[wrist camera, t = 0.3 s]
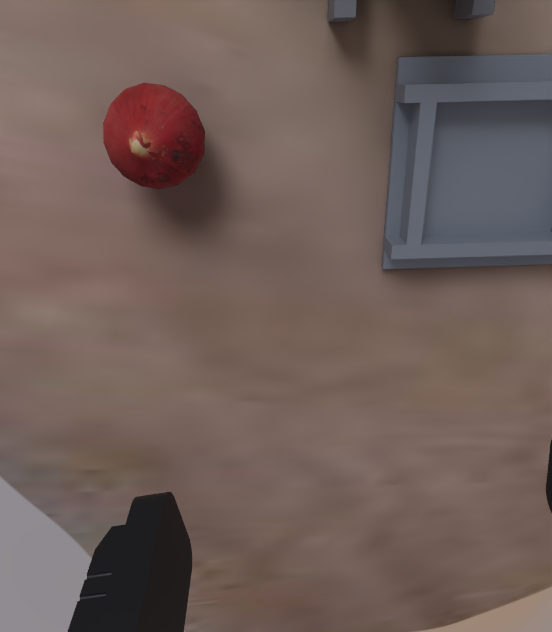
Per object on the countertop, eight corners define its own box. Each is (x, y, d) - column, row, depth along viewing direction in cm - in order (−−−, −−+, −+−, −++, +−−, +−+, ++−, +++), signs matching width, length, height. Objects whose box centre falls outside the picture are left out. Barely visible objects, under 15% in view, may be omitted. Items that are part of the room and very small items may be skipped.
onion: (224, 112, 33) (214, 124, 25) (187, 191, 35) (169, 222, 28) (140, 64, 31) (105, 62, 24) (107, 148, 33) (66, 170, 26)
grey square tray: (397, 57, 32) (409, 56, 29) (617, 52, 32) (647, 51, 29) (381, 266, 38) (389, 280, 35) (565, 261, 38) (586, 274, 36)
